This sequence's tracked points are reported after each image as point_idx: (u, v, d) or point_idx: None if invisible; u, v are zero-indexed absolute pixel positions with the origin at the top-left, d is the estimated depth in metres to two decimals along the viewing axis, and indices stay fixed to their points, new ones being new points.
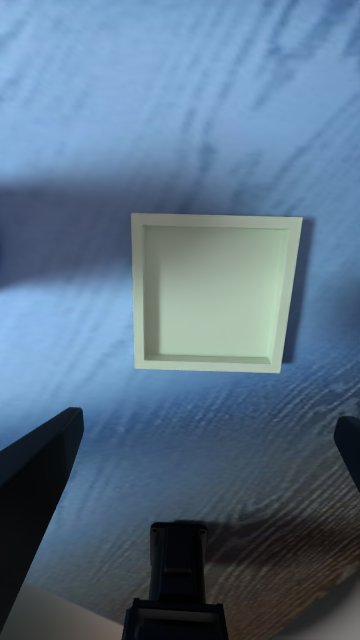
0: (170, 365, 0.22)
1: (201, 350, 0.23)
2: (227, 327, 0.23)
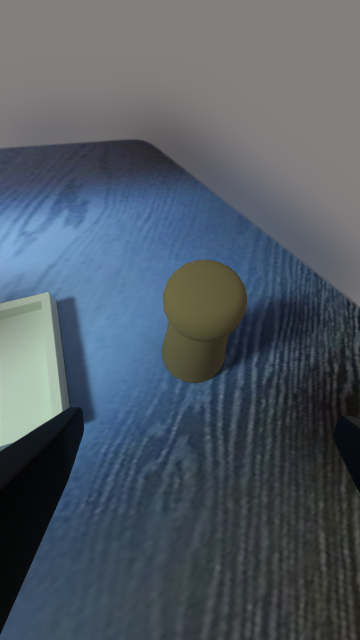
0: None
1: None
2: (8, 401, 0.21)
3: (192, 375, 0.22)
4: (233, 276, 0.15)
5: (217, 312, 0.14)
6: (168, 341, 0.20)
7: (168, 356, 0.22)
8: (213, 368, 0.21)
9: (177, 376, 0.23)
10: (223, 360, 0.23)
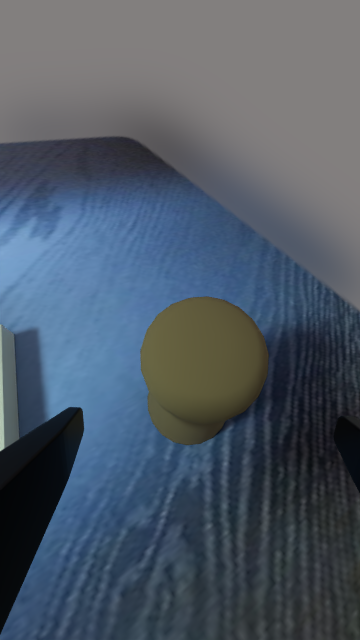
0: None
1: None
2: None
3: (187, 439, 0.16)
4: (247, 324, 0.10)
5: (224, 390, 0.09)
6: (153, 399, 0.15)
7: (154, 414, 0.16)
8: (215, 430, 0.16)
9: (167, 437, 0.17)
10: None
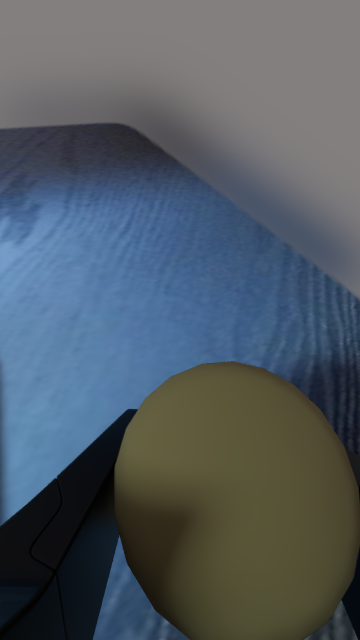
0: None
1: None
2: None
3: None
4: (320, 432, 0.05)
5: (289, 612, 0.04)
6: None
7: None
8: None
9: None
10: None
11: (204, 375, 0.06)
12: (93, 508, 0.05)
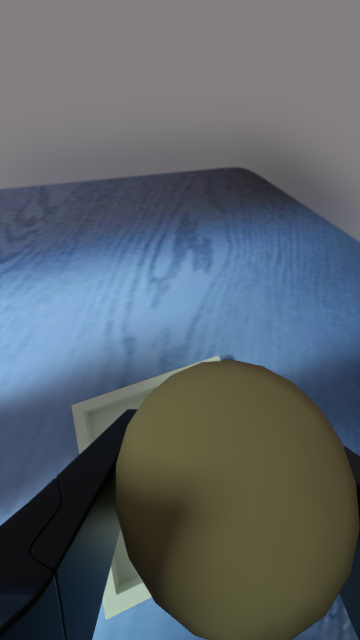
0: None
1: None
2: None
3: None
4: (317, 429, 0.05)
5: (286, 606, 0.04)
6: None
7: None
8: None
9: None
10: None
11: (203, 373, 0.06)
12: (92, 508, 0.05)
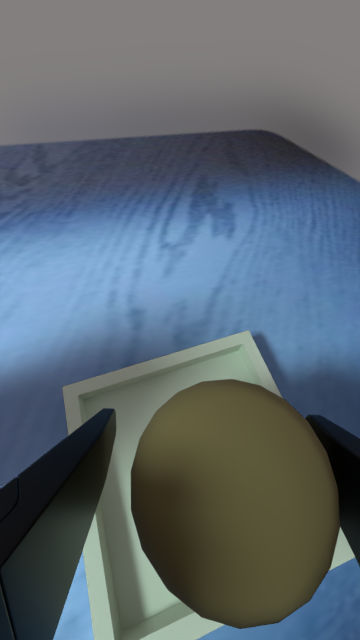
0: (171, 637, 0.11)
1: None
2: None
3: None
4: (306, 442, 0.06)
5: (278, 591, 0.05)
6: None
7: None
8: None
9: None
10: None
11: (208, 392, 0.07)
12: (49, 507, 0.05)
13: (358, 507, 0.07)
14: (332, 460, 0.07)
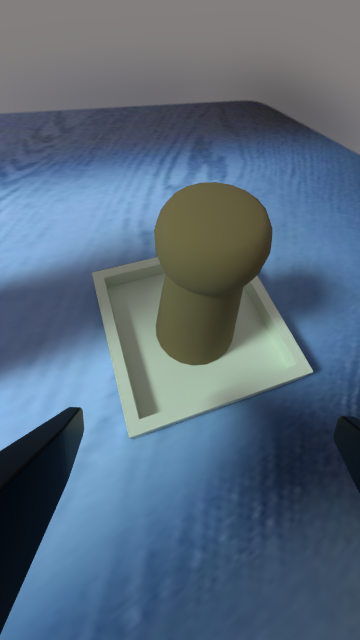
0: (177, 413, 0.16)
1: (209, 389, 0.18)
2: None
3: (194, 354, 0.17)
4: (253, 199, 0.11)
5: (232, 243, 0.10)
6: (163, 308, 0.16)
7: (163, 330, 0.17)
8: (220, 345, 0.17)
9: (175, 357, 0.18)
10: (232, 336, 0.18)
11: (199, 184, 0.11)
12: None
13: None
14: None
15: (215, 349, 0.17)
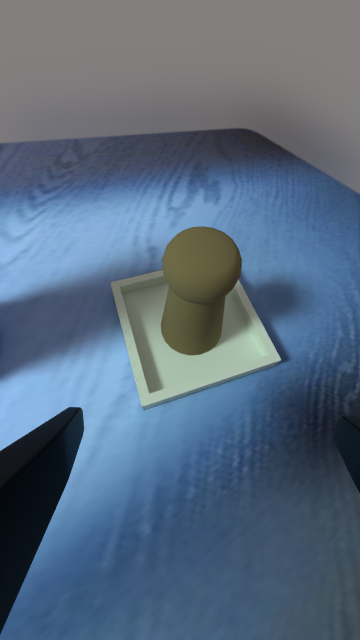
0: (177, 389, 0.21)
1: (202, 373, 0.23)
2: None
3: (190, 346, 0.22)
4: (228, 240, 0.16)
5: (213, 271, 0.15)
6: (167, 311, 0.21)
7: (167, 328, 0.22)
8: (210, 339, 0.22)
9: (175, 349, 0.24)
10: (220, 333, 0.24)
11: (192, 228, 0.17)
12: None
13: None
14: None
15: (206, 342, 0.22)
